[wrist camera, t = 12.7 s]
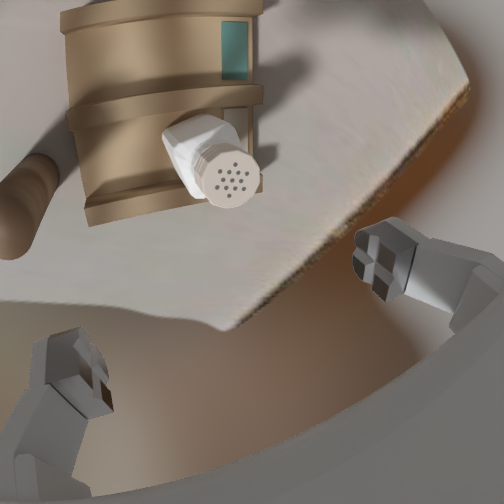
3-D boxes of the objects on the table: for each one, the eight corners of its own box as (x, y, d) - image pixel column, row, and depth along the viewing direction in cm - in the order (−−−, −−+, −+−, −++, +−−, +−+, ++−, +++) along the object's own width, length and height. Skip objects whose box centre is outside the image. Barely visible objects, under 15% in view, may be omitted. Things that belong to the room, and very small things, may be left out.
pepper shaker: (177, 175, 24) (210, 228, 16) (157, 130, 21) (181, 162, 14) (222, 154, 24) (276, 196, 17) (206, 109, 22) (256, 130, 15)
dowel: (22, 206, 20) (-10, 266, 13) (10, 161, 18) (-34, 205, 11) (63, 194, 21) (43, 251, 14) (53, 147, 19) (22, 185, 12)
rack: (91, 211, 23) (88, 226, 21) (67, 19, 14) (60, 12, 12) (248, 180, 28) (262, 192, 25) (247, 3, 19) (263, -4, 16)
